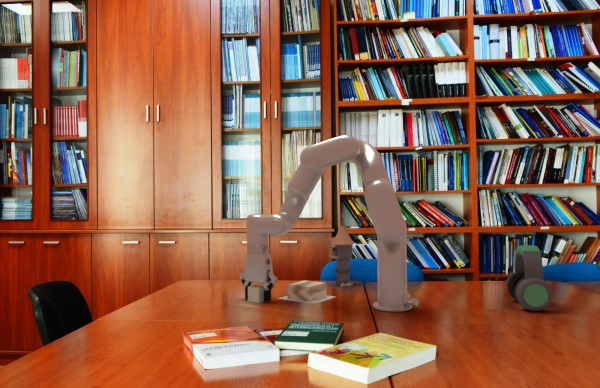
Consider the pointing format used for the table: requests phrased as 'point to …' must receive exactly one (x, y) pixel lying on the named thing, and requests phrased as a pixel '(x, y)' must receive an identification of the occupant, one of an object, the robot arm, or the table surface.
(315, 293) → the block
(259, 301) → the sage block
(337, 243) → the model tower
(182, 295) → the table surface
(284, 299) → the board
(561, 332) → the table surface
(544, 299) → the headphones
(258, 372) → the table surface
